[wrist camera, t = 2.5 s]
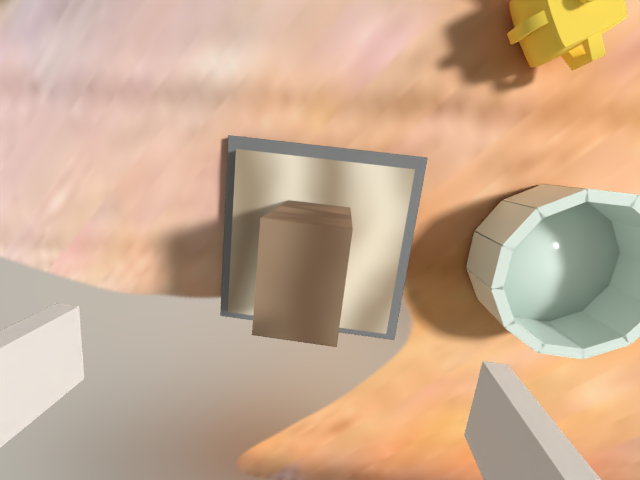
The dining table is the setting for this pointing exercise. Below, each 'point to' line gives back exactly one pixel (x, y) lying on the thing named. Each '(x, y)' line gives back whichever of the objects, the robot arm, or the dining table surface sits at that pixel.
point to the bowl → (561, 269)
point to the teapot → (563, 28)
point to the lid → (315, 244)
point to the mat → (330, 154)
